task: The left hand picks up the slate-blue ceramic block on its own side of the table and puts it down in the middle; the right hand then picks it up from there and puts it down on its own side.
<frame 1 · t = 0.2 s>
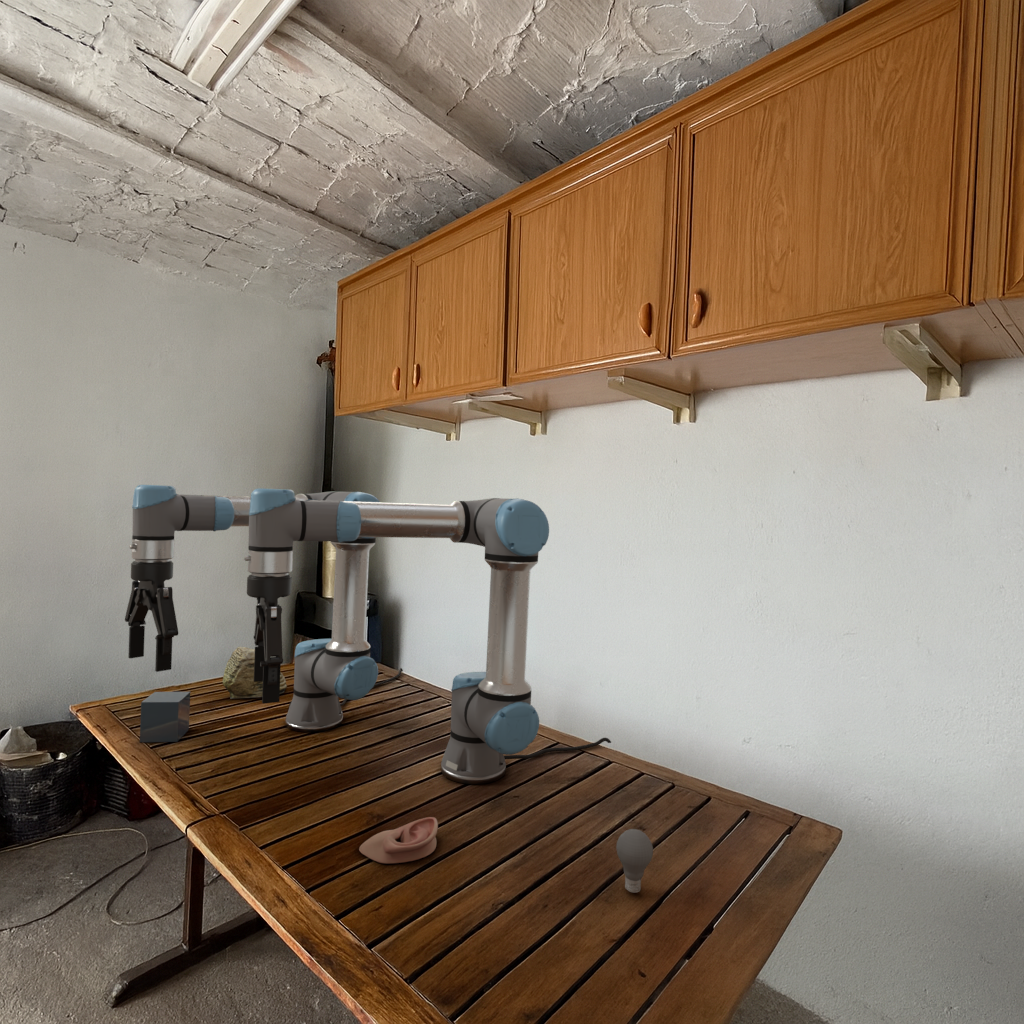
left hand: (149, 663, 130), 28 cm above the table, tool pointing down, fingers open, 13 cm apart
right hand: (265, 691, 115), 28 cm above the table, tool pointing down, fingers open, 13 cm apart
light bulb: (632, 891, 106), on the table
fossil: (254, 694, 198), on the table
block: (165, 735, 163), on the table
anatomical model: (398, 848, 116), on the table
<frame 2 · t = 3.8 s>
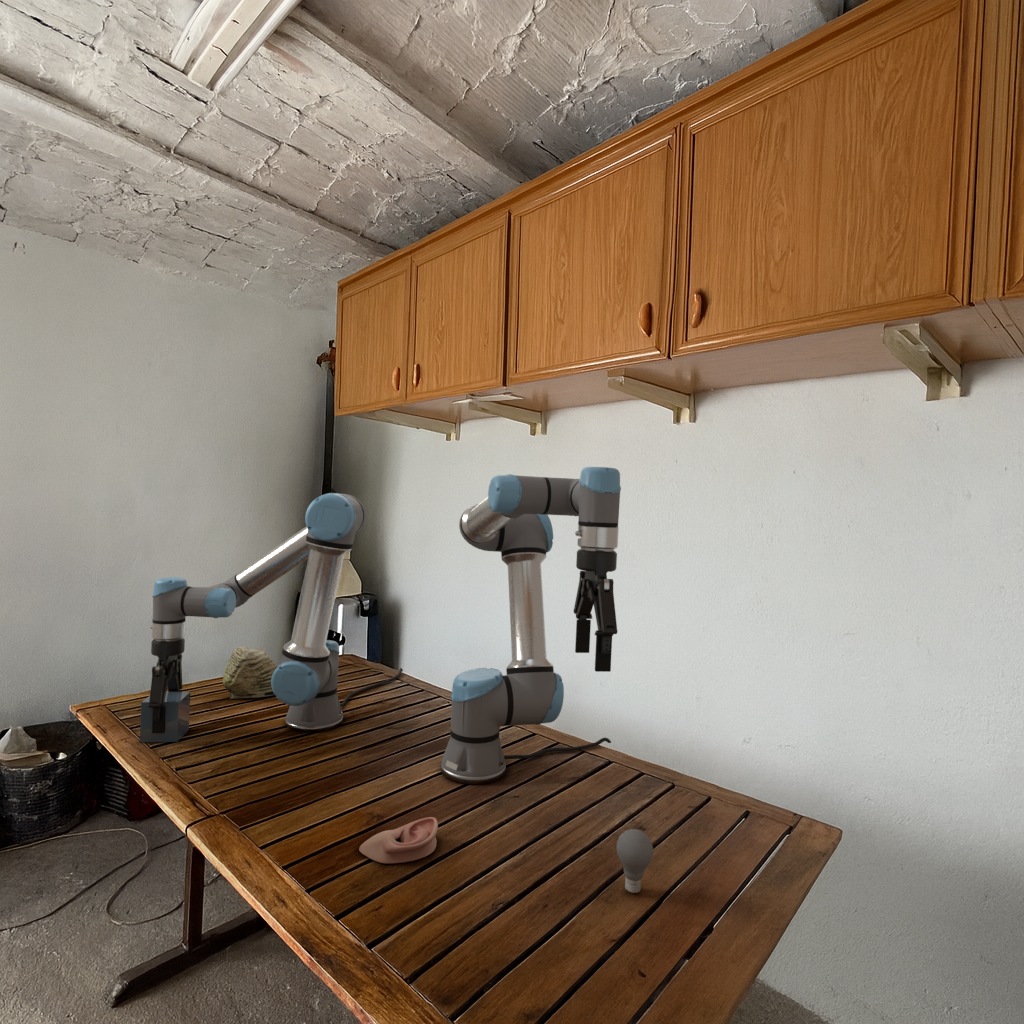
left hand: (165, 725, 163), 3 cm above the table, tool pointing down, fingers closed on block, 8 cm apart
right hand: (591, 661, 120), 35 cm above the table, tool pointing down, fingers open, 13 cm apart
block: (165, 735, 163), on the table, touching left hand
everything else where it was.
when the left hand's fingers open (4 cm above the table, at t = 10.3 s): block drops 1 cm, on the table.
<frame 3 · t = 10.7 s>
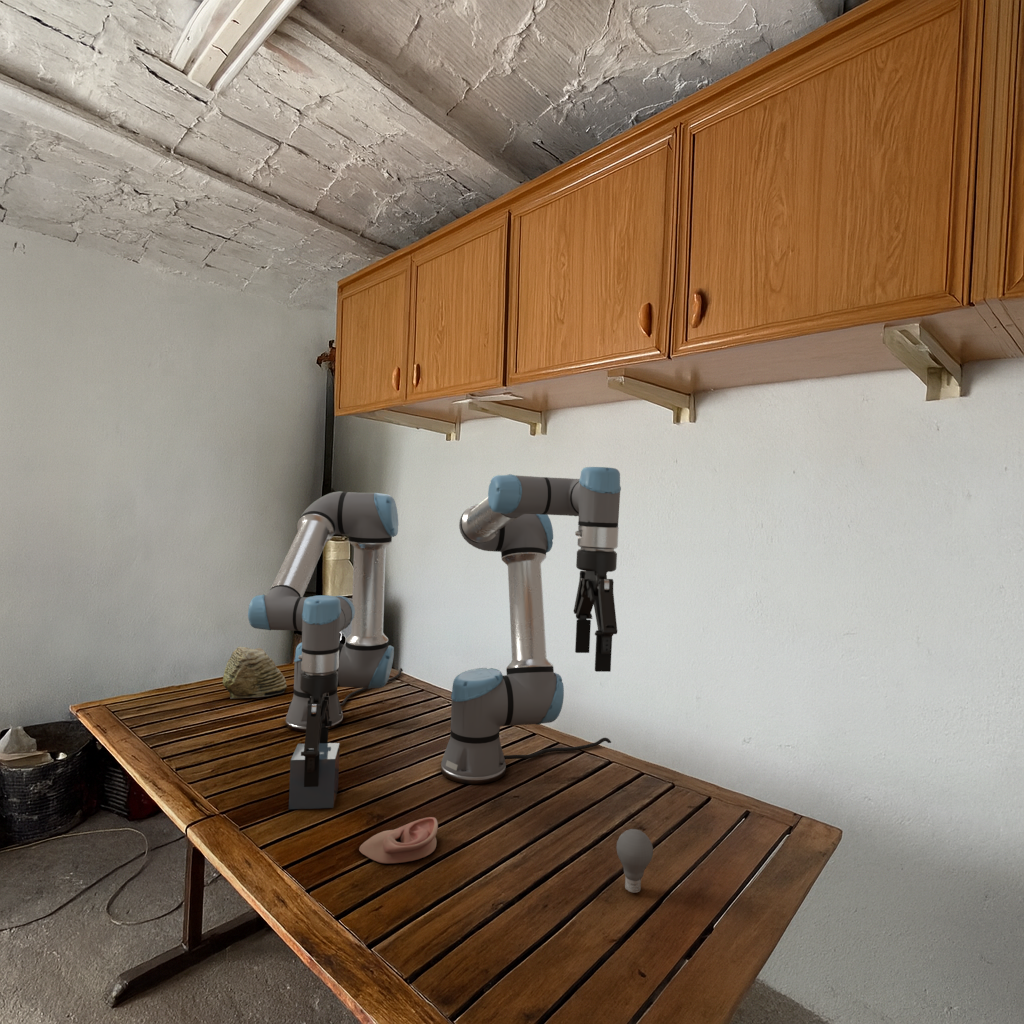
left hand: (316, 771, 133), 6 cm above the table, tool pointing down, fingers open, 13 cm apart
right hand: (591, 661, 120), 35 cm above the table, tool pointing down, fingers open, 13 cm apart
block: (314, 798, 133), on the table
everything else where it was.
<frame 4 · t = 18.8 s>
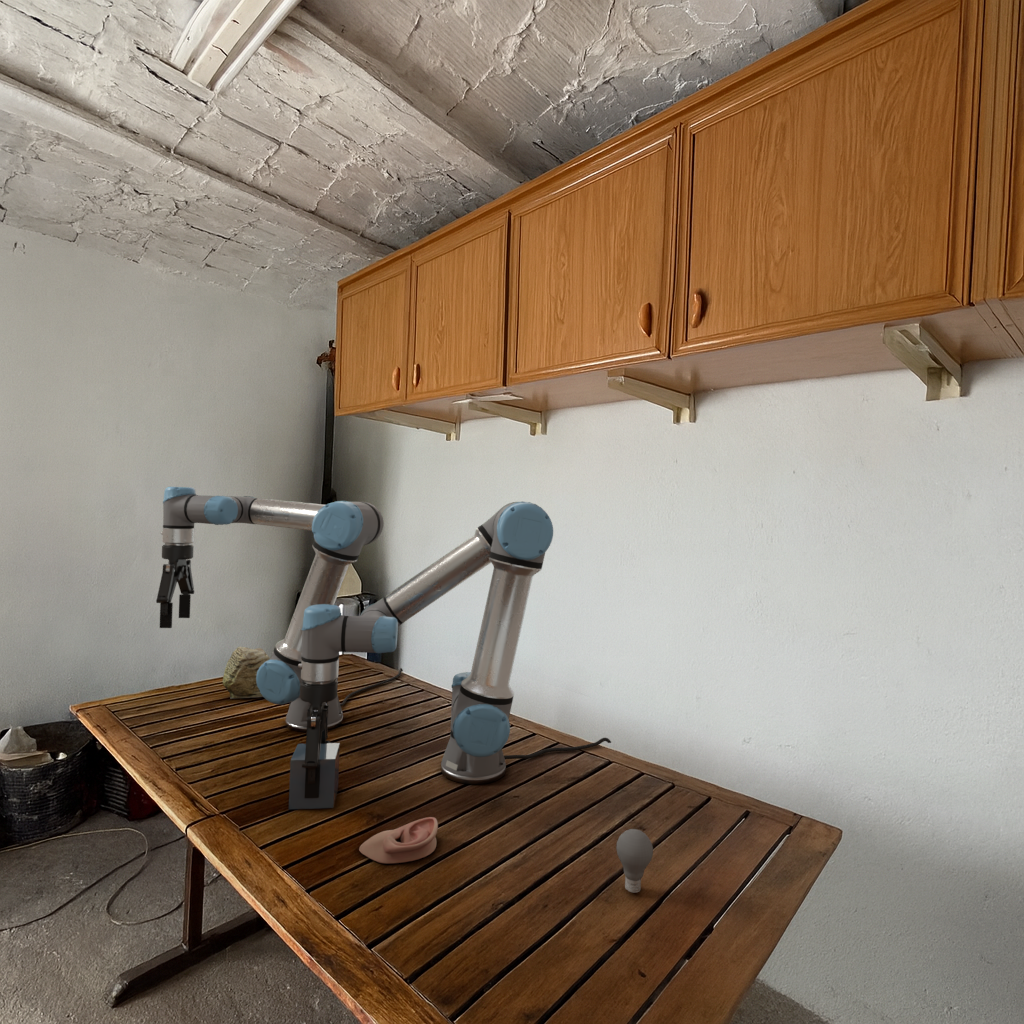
left hand: (175, 622, 171), 27 cm above the table, tool pointing down, fingers open, 13 cm apart
right hand: (315, 786, 133), 3 cm above the table, tool pointing down, fingers closed on block, 8 cm apart
block: (314, 798, 133), on the table, touching right hand
everything else where it was.
when the right hand's fingers open (4 cm above the table, at t = 26.3 s): block drops 1 cm, on the table.
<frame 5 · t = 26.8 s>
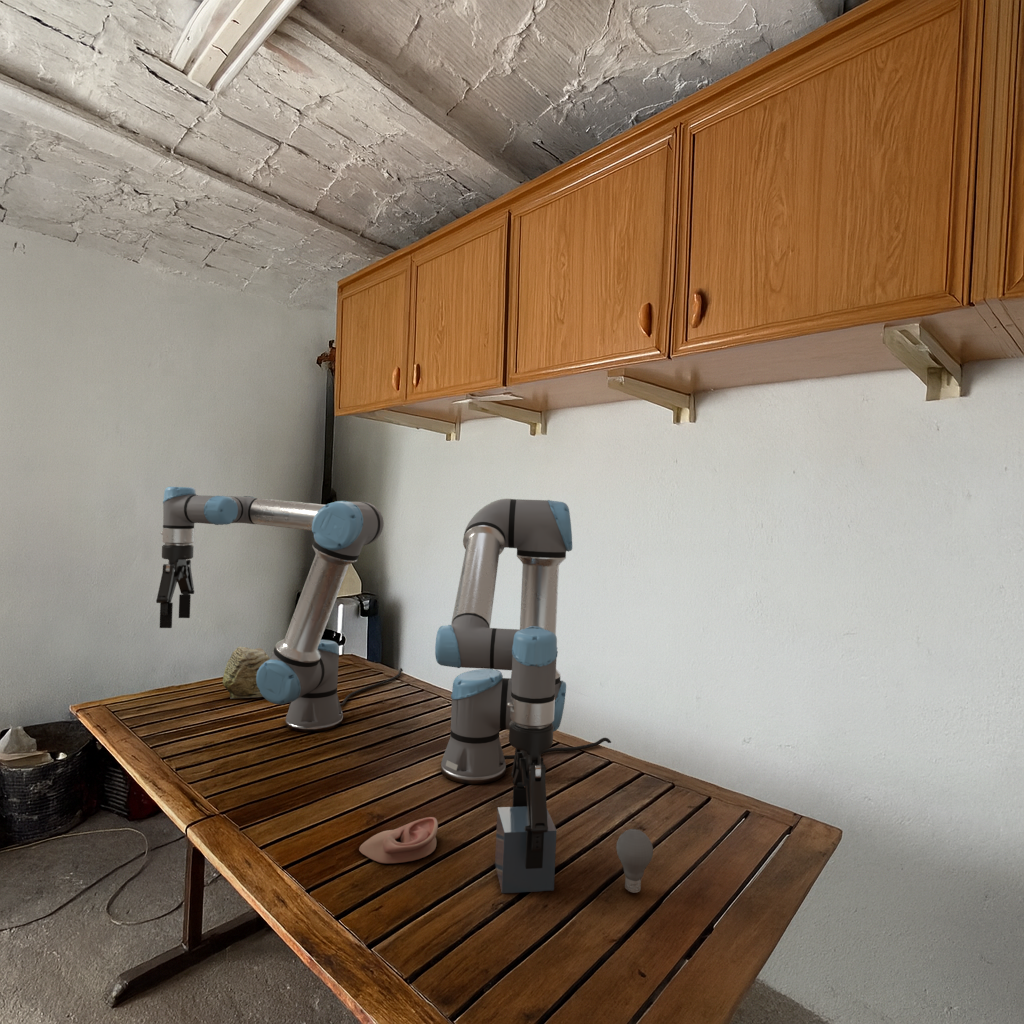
left hand: (175, 622, 171), 27 cm above the table, tool pointing down, fingers open, 13 cm apart
right hand: (526, 844, 109), 6 cm above the table, tool pointing down, fingers open, 13 cm apart
block: (523, 876, 109), on the table
everything else where it was.
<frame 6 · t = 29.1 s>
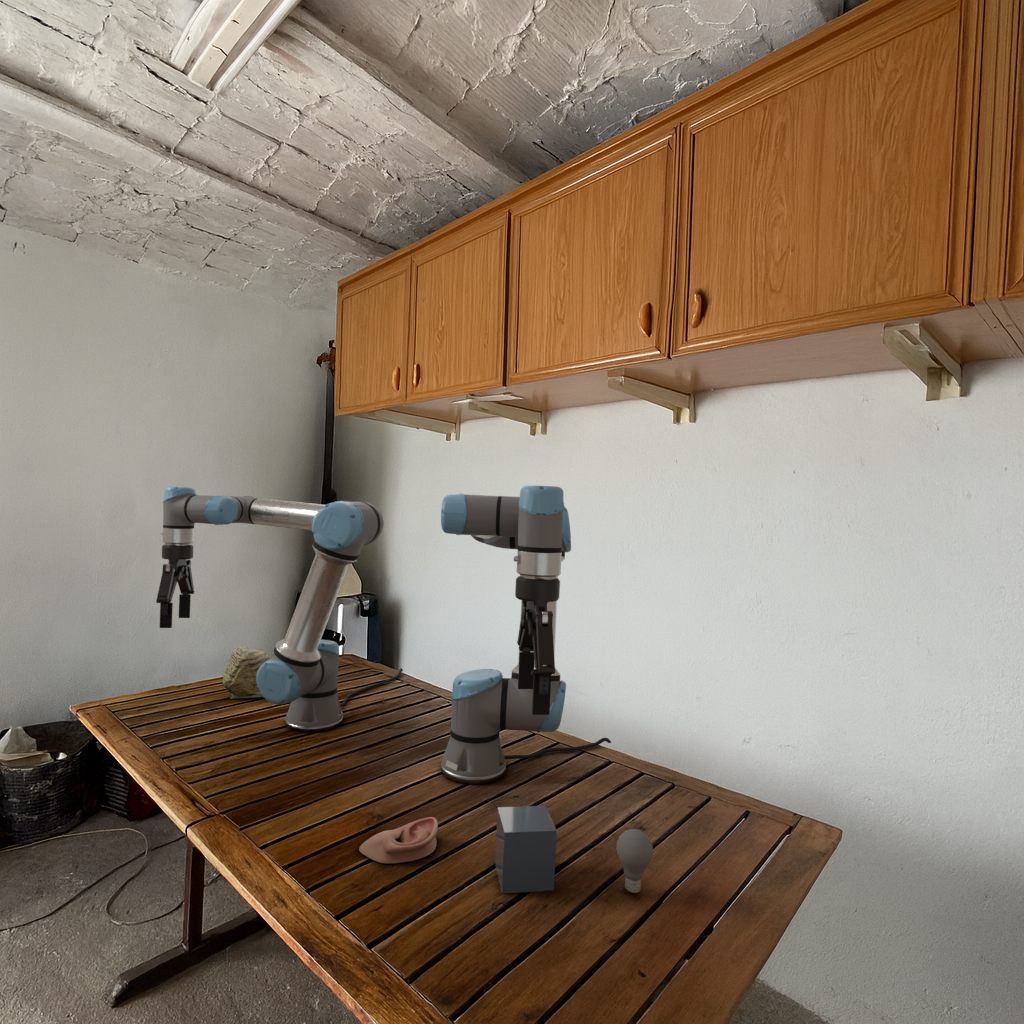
left hand: (175, 622, 171), 27 cm above the table, tool pointing down, fingers open, 13 cm apart
right hand: (532, 700, 108), 30 cm above the table, tool pointing down, fingers open, 13 cm apart
nothing on the table moved.
at the end: block inside the target area (0.2 cm from its centre), on the table; block tilted 0°; the two hands never held the block at the same time; the left hand is holding nothing; the right hand is holding nothing; block at rest at the end (0.0 cm/s) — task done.
